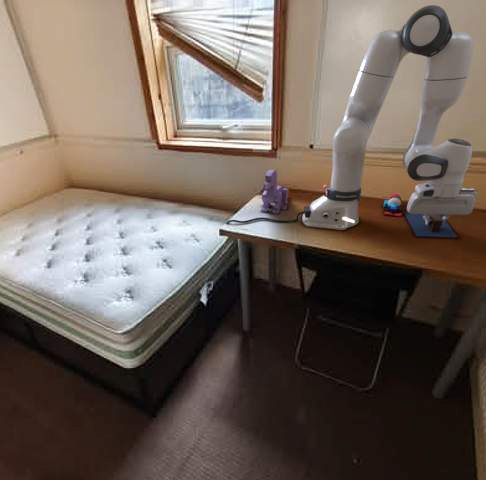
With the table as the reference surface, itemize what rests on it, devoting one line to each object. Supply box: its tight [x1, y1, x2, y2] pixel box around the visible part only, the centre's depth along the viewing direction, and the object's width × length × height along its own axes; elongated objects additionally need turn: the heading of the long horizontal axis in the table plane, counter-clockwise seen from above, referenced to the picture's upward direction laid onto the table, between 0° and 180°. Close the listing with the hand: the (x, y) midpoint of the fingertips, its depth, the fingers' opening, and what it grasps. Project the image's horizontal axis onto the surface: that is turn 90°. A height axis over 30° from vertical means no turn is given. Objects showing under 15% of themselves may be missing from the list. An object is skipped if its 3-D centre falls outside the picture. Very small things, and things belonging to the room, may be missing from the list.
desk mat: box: [404, 212, 459, 239], centre depth 126 cm, size 13×20×1 cm, turn 166°
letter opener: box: [423, 214, 443, 232], centre depth 125 cm, size 13×3×5 cm, turn 166°
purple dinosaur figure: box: [260, 169, 290, 215], centre depth 149 cm, size 12×25×19 cm, turn 149°
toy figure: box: [383, 193, 405, 217], centre depth 140 cm, size 8×5×15 cm
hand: (433, 224), depth 122 cm, fingers closed on letter opener, 2 cm apart
